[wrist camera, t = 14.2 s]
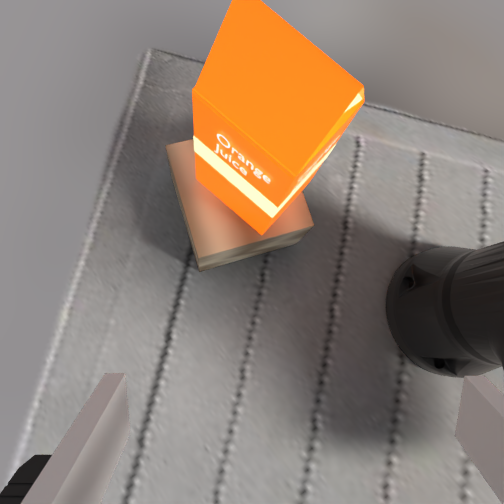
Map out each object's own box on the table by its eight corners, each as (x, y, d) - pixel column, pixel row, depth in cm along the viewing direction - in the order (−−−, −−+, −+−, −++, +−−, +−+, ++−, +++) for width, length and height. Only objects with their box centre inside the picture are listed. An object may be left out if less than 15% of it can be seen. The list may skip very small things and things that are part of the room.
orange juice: (261, 237, 39) (319, 136, 19) (194, 179, 39) (185, 23, 20) (310, 182, 41) (407, 40, 21) (245, 127, 41) (283, -61, 22)
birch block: (265, 154, 50) (277, 119, 42) (296, 243, 47) (314, 225, 40) (171, 176, 47) (165, 145, 40) (199, 271, 45) (198, 257, 38)
